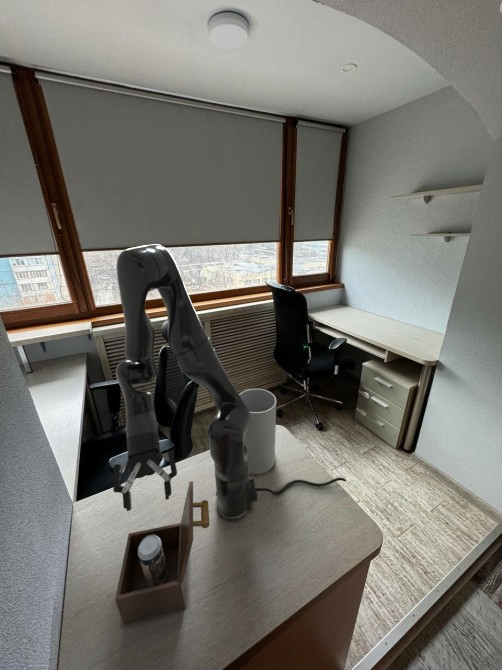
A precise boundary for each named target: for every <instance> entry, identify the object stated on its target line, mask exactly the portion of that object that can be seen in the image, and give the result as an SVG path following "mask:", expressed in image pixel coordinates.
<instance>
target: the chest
mask: <svg viewBox="0 0 502 670" xmlns="http://www.w3.org/2000/svg"><path fill="white" fill-rule="evenodd" d="M148 535H156V536H158V537H159V538H160V539H161V544H162V549H163V553H164V558H165V563H166V567H167V571H168V574H167V578H166V580H165V582H164V583H163V584H162V585H159V586H155V587H151V588H149V587H148V586H147V585H146V581H145V577H144V574H143V570H142V567H141V563H140V559H139V556H138V548H139V545H140V544H141V542H142V540H143V539H144V538H145V537H147V536H148ZM180 536H181V522H179V523H178V522H177V523H173V524H168V525H163V526H158V527H153V528H149V529H144V530H138V531H135V532H130V533H128V535H127V539H126V540H127V541H126V544H125V545H126V546H125V550H124V555H123V559H122V564H121V569H120V575H119V579H118V584H117V588H116V594H115V599H114V601H115V604H116V606H117V610H118V612H119V615H120V618H121V620H122V623H123V624H126V623H131V622H134V621H135V622H136V621H138V620H143V619H146V618H149V617H153V616H157V615H161V614H164V613H165V614H166V613H169V612H172V611H176V610H180V609H184V608H186V599H187V598H186V597H187V596H186V590H187V589H186V587H187V570H186V571H185V575H184V579H183V583H179V562H180Z"/></svg>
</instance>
